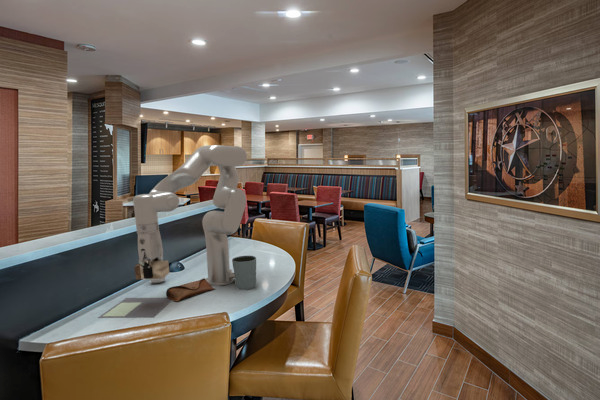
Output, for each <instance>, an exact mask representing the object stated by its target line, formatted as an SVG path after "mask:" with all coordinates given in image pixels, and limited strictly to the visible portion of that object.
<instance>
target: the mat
mask: <svg viewBox="0 0 600 400" xmlns="http://www.w3.org/2000/svg"><path fill="white" fill-rule="evenodd" d="M171 302H173V301H172V300H170V299H168V298H167V296H166V297H165V296H163V297H126V298H123V300H120V301H119V302H118V303H117V304H115V305H114V306H113V307H111V308H110V309H108V310H107V311H106V312H104V313H102V314H101V315H100V316H98V317H97V318H98V319H129V318H130V319H138V318H139V319H144V318H147V319H148V318H155V317H156V316H157V315H158V314H160V312H161V311H163V310H164V309H165V308H166V307H167V306H168V305H169V304H171Z"/></svg>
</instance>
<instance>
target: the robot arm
mask: <svg viewBox="0 0 600 400" xmlns="http://www.w3.org/2000/svg"><path fill="white" fill-rule="evenodd" d="M247 160H248V154H247V151H246V150H245V148H243V147H242V146H239V145H237V146H235V145H223V144H221V145H220V144H211V145H202V146H199V147H198V148H196V149H195V151H194V152H192V154H191V155H190V156H189V157H188V158H187V159H186V160H185V161H184V162H183V163H182V165H181V166H180V167H178V168H177V169H176V170H175V171H172V172H171V173H170V174H168V175H167V176H166V177H165V178H163V179H162V180H160V181H159V182H158V183H157V184H156V185H155V186H154V187H153V188H152V189H151V190H150V192H149V193H142V194H137V195H135V196H133V201H132V202H133V210H134V211H133V212H134V221H135V227H136V234H137V250H138V264H139V263H140V264H141V266H142V268H143V274H144V278H145V279H144V280H149V279H148V278H153V272H152V267H151V260H152V261H161V258H160V256H161V254H162V253H163V254H164V248H163V241H162V235H161V233H160V227H159V218H158V213H161V212H163V213H164V212H165V213H166V212H172V211H174V210H176V209H177V208H178V207H179V205H180V197H179V196H178V195H177V194H176V193H177V192H178V191H180V190H182V189H184V188H187V187H190V186H193V185H194V184H196V183H197V181H199V179H200V178H201V177H202V176H203V175H204V173H206V171H208V170H209V168H210V167H214V166H216V167H217V168H218V170H219V178H218V183H217V186H216V188H215V191H214V194H213V198H212V203H213V205H214V206H215V208H218V209H221V210H210V211H208V212H206V213H205V214H204V216H203V217H202V229H203V232H204V237H205V247H206V250H205V251H206V261H207V262H206V264H207V265H206V266H207V278H205V279H206V281H207V282H208V283H209V284H210V285H211V286H212V287H213V286H214V287H215V286H220V287H221V286H225V285H229V284H232V283H233V282H235V276H234V271H233V269H230V267H231V265H230V253H229V252H230V251H229V250H230V249H229V240H228V239H229V238H228V236H229V235H230V236H231V235H233V234H234V233H236V232H237V231H238V230H239V228H240V225H241V223H242V219H243V215H244V212H245V209H246V205H247V196H246V193H245V191H243V189H241V188H238V186H239V180H240V176H239V173H238V170H237V168H236V167H241V166H243V165H245V163H246V162H247ZM223 210H224V211H223ZM145 261H148V263H147V262H145Z"/></svg>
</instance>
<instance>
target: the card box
mask: <svg viewBox="0 0 600 400" xmlns="http://www.w3.org/2000/svg"><path fill="white" fill-rule="evenodd" d="M145 262H147V263H148V261H145ZM169 265H170V263H169V260H163V261H151V267H152V272H153V278H148V279H147V280H150V279H163V278H164V277H165V276H168V275H169V274H170V266H169ZM133 267H134V273H135V280H146V279H145V278H144V274H143V268H142V266H141V264H140V263H139V262H138V263H137V264H136V265H134V266H133ZM165 278H166V277H165Z"/></svg>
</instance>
